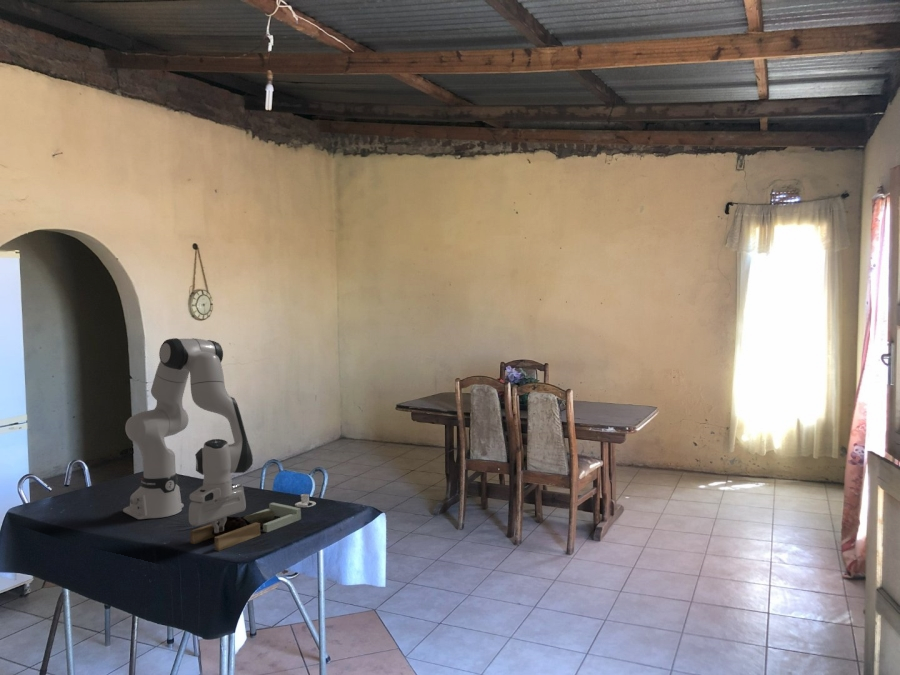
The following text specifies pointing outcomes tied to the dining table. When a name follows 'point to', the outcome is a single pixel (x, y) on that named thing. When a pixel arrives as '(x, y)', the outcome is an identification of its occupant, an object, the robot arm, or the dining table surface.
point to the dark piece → (245, 521)
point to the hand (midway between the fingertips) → (219, 531)
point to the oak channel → (225, 535)
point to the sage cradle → (283, 511)
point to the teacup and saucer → (304, 501)
